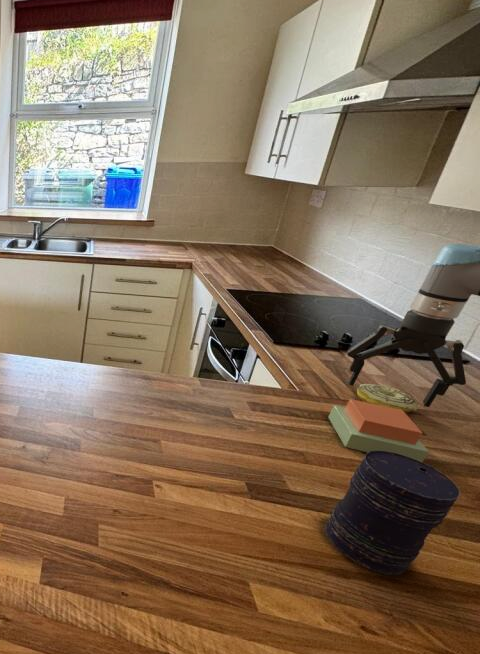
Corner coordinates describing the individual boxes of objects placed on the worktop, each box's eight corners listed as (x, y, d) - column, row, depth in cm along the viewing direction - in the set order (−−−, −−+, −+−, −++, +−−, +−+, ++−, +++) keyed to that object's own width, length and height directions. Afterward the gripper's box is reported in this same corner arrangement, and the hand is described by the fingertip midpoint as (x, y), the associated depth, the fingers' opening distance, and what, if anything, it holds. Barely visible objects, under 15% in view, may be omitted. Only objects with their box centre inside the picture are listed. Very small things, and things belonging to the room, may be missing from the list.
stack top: (395, 421, 88) (402, 409, 87) (415, 445, 81) (422, 433, 80) (344, 409, 92) (349, 398, 91) (358, 431, 84) (364, 420, 83)
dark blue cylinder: (378, 583, 58) (431, 507, 51) (309, 526, 66) (347, 456, 60) (424, 565, 60) (479, 492, 54) (351, 514, 69) (392, 445, 63)
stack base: (394, 432, 90) (401, 419, 89) (420, 465, 81) (429, 451, 79) (327, 417, 95) (333, 404, 94) (345, 447, 85) (352, 433, 84)
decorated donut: (425, 418, 96) (433, 404, 94) (379, 416, 96) (387, 403, 94) (385, 394, 105) (392, 381, 104) (344, 392, 105) (350, 380, 104)
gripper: (359, 304, 95) (322, 380, 104) (523, 336, 81) (463, 421, 90) (358, 297, 100) (323, 370, 109) (512, 325, 86) (457, 407, 95)
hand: (386, 393), depth 100 cm, fingers open, 13 cm apart
